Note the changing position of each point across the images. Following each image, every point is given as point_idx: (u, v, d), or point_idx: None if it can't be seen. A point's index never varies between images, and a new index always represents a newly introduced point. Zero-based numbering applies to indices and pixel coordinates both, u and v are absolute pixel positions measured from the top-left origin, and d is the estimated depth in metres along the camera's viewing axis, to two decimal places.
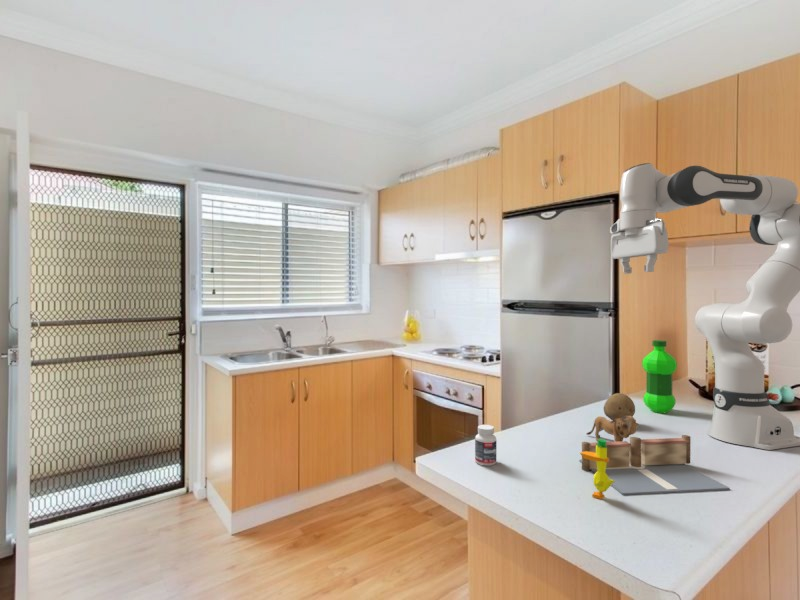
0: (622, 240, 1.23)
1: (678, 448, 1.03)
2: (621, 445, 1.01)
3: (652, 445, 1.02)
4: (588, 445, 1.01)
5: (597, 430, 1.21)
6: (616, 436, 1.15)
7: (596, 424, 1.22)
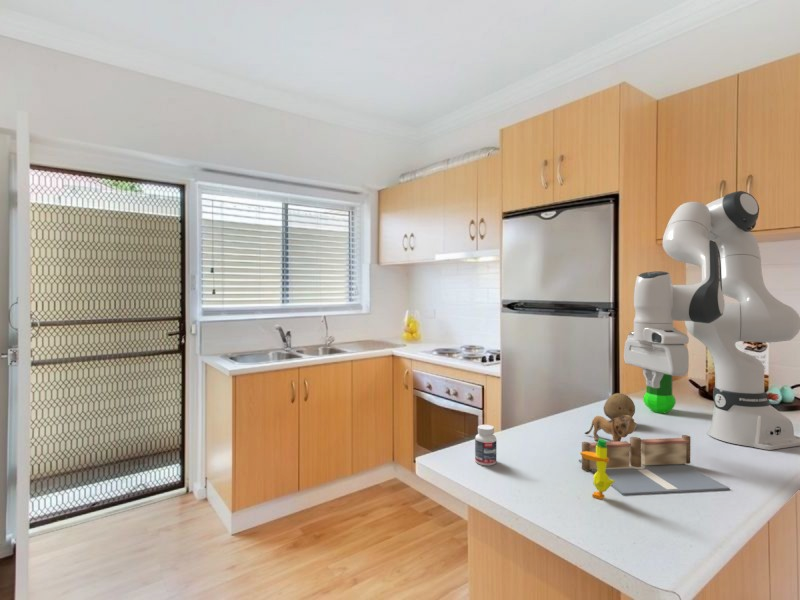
0: None
1: (678, 448, 1.03)
2: (621, 445, 1.01)
3: (652, 445, 1.02)
4: (588, 445, 1.01)
5: (595, 429, 1.22)
6: (614, 435, 1.16)
7: (594, 423, 1.22)
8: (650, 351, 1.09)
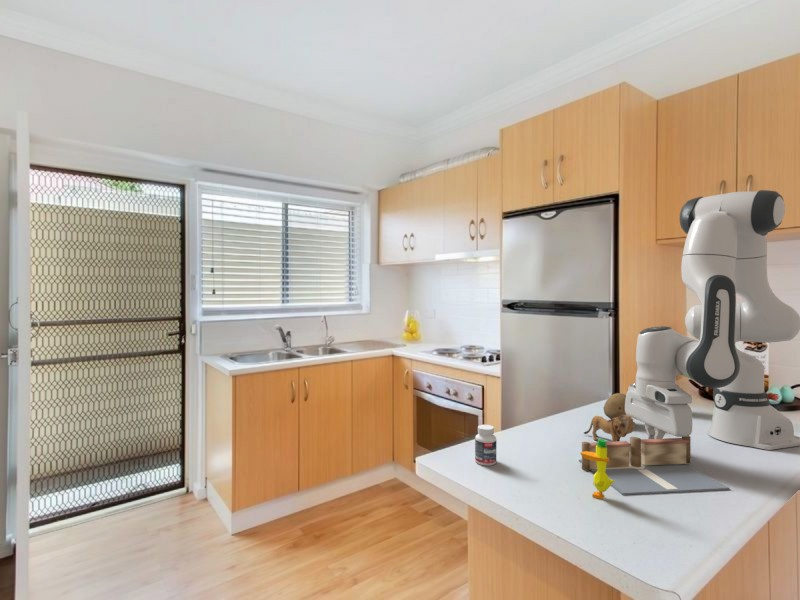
0: None
1: (678, 448, 1.03)
2: (621, 445, 1.01)
3: (652, 445, 1.02)
4: (588, 445, 1.01)
5: (594, 429, 1.22)
6: (613, 435, 1.16)
7: (593, 423, 1.22)
8: (653, 408, 1.08)
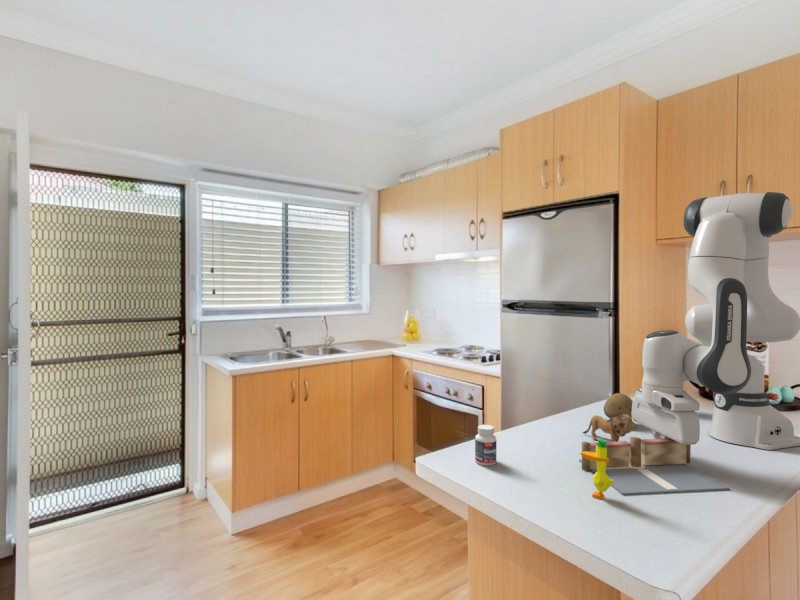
0: None
1: (678, 448, 1.03)
2: (621, 445, 1.01)
3: (652, 445, 1.02)
4: (588, 445, 1.01)
5: (593, 429, 1.22)
6: (612, 435, 1.17)
7: (592, 423, 1.23)
8: (659, 414, 1.05)
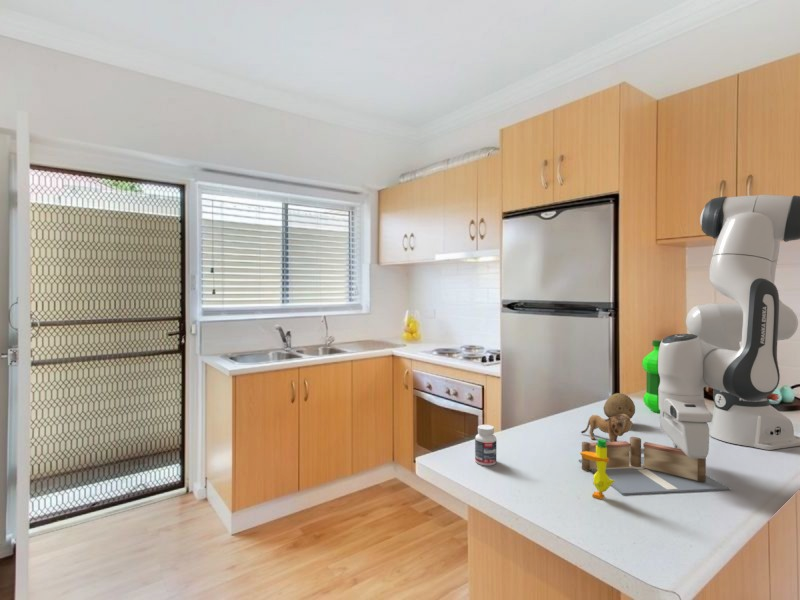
0: None
1: (686, 461, 0.95)
2: (621, 445, 1.01)
3: (652, 449, 1.00)
4: (588, 445, 1.01)
5: (592, 428, 1.23)
6: (611, 434, 1.17)
7: (591, 422, 1.23)
8: (675, 424, 0.98)
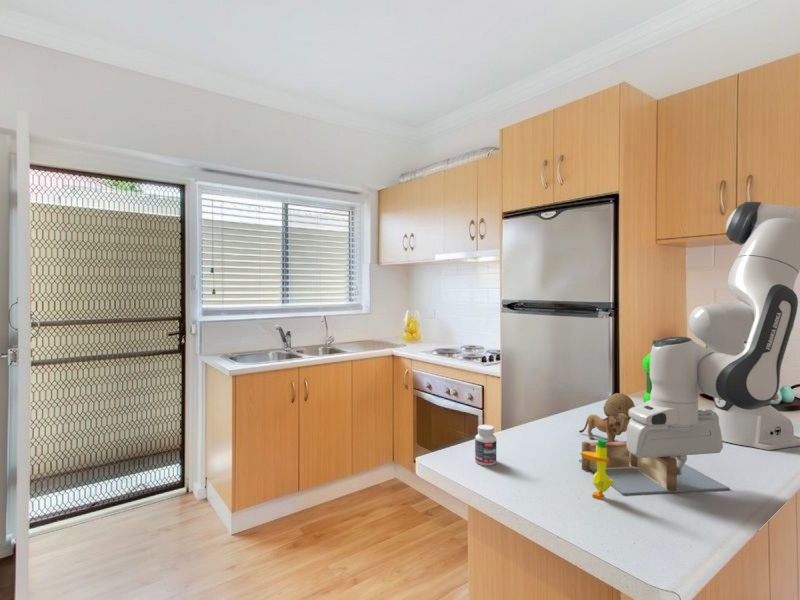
0: (659, 434, 0.91)
1: (660, 466, 0.92)
2: (621, 445, 1.01)
3: None
4: (588, 445, 1.01)
5: (590, 428, 1.23)
6: (609, 433, 1.18)
7: (589, 422, 1.24)
8: None
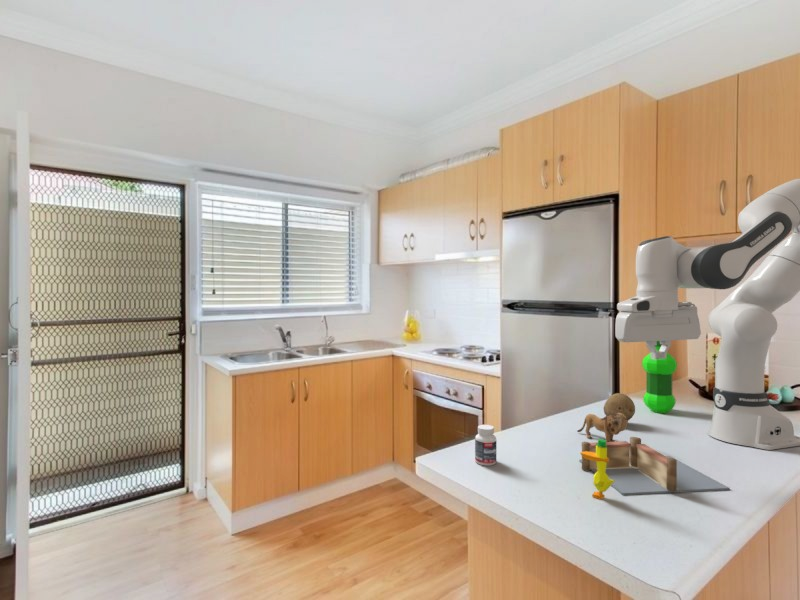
0: (643, 321, 1.03)
1: (660, 466, 0.92)
2: (621, 445, 1.01)
3: (641, 450, 0.99)
4: (588, 445, 1.01)
5: (588, 427, 1.24)
6: (607, 433, 1.18)
7: (587, 421, 1.24)
8: None
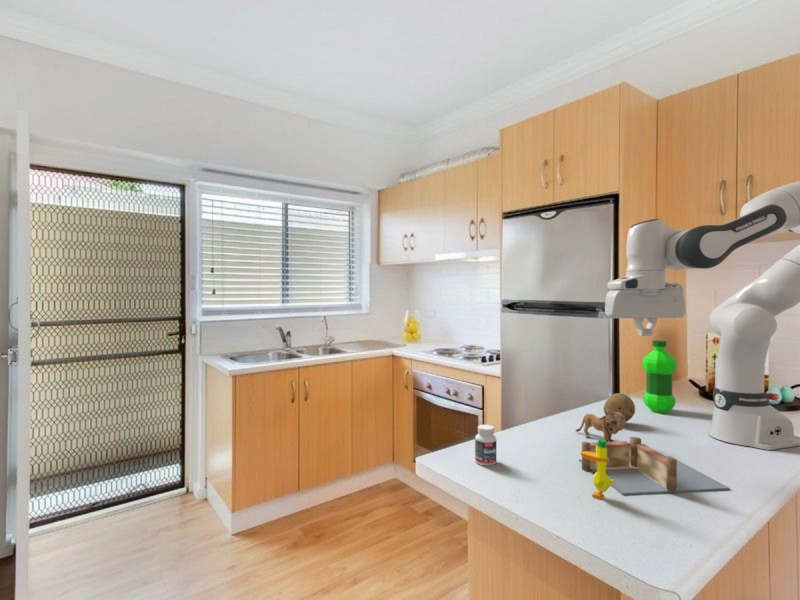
0: (631, 298, 1.09)
1: (660, 466, 0.92)
2: (621, 445, 1.01)
3: (641, 450, 0.99)
4: (588, 445, 1.01)
5: (586, 427, 1.24)
6: (605, 432, 1.19)
7: (585, 421, 1.25)
8: None
